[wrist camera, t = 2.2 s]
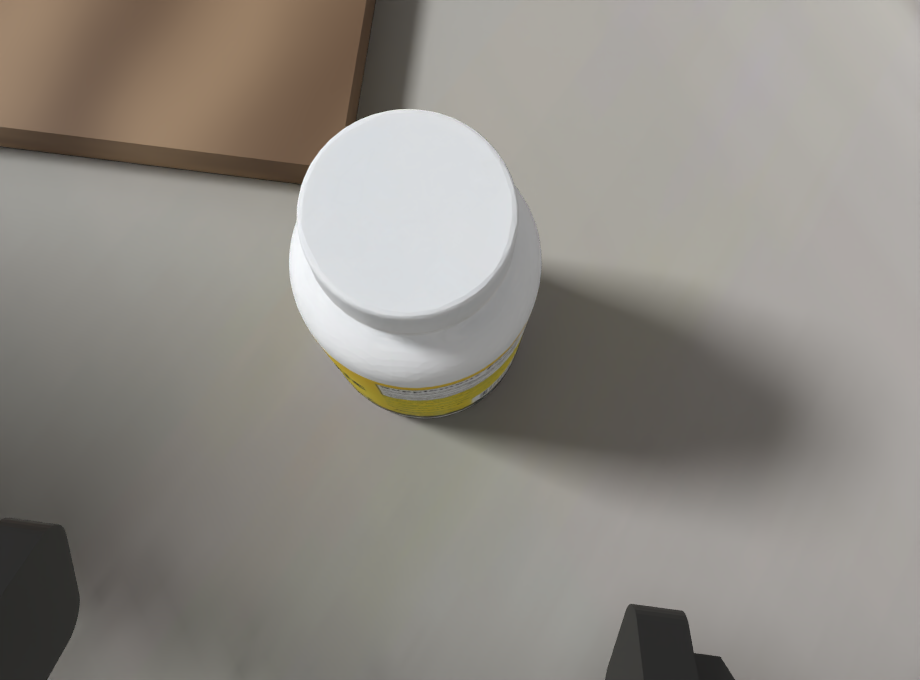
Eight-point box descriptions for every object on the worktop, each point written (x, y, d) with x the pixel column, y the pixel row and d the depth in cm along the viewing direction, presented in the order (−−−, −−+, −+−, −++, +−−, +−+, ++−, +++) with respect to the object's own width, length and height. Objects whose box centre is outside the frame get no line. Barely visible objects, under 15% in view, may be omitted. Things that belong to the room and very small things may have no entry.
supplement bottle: (321, 255, 25) (243, 87, 15) (501, 230, 25) (536, 50, 15) (343, 435, 24) (273, 378, 14) (531, 408, 24) (589, 333, 14)
